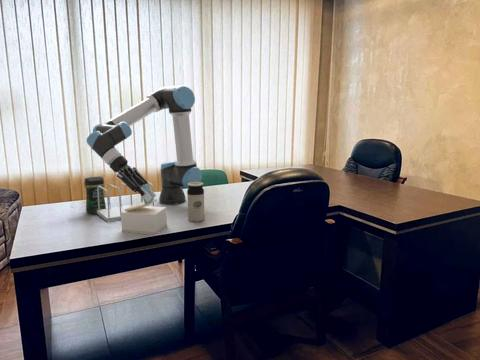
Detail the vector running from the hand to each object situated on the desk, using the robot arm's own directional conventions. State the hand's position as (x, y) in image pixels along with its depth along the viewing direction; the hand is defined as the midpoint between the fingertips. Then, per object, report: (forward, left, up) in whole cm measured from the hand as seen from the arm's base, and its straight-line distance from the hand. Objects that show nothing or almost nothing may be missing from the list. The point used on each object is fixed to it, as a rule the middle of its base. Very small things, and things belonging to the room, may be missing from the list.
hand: (152, 198), depth 166 cm
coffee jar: (+4, -47, -15) cm, 49 cm away
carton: (+2, -4, -14) cm, 15 cm away
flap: (+3, -5, -4) cm, 7 cm away
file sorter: (-5, -32, -15) cm, 36 cm away
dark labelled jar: (-23, +2, -15) cm, 27 cm away
